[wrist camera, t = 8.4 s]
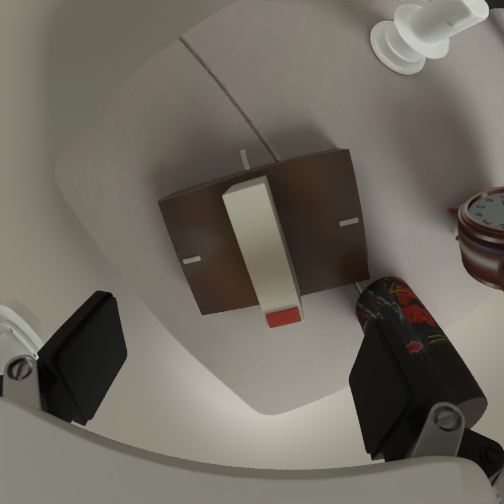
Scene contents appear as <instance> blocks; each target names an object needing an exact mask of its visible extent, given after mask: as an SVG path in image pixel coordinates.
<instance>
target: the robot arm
mask: <svg viewBox="0 0 504 504" xmlns="http://www.w3.org/2000/svg"><path fill="white" fill-rule="evenodd" d="M126 358H127V348H126V345H125V340H124V335H123V331H122V327H121V321H120V317H119V312H118V306H117V301H116V298H115V297H113V295H112V294H111V293H110V292H104V291H96V292H95V293H94V294H93V295H92V296H91V297H90V298H89V299H88V300H87V301H86V302H85V303H84V304H83V305H82V306H81V307H80V308H79V309H78V310H77V311H76V312H75V313H74V314H73V315H72V316H71V317H70V318H69V319H68V320H67V321H66V322H65V323H64V324H63V325H62V326H61V327H60V328H59V329H58V330H57V331H56V332H55V333H54V335H53V336H52V337H51V338H50V339H49V340H48V341H47V342H46V343H45V344H44V345H43V347H42V348H41V349H40V350H38V348H37V347H36V346H35V344H34V343H33V342H32V341H31V339H30V338H29V337H28V336H27V335H26V334H25V333H24V332H23V331H22V330H21V329H20V328H19V327H17V326H16V325H15V324H13V323H12V322H10V321H7V320H3V321H1V322H0V504H504V450H503V448H502V447H501V446H500V444H499V443H497V442H495V441H494V440H491V439H489V438H487V437H485V436H483V435H480V434H478V433H476V432H474V431H472V430H470V429H468V428H466V427H465V417H464V414H463V412H462V411H461V410H460V409H459V408H458V407H457V406H456V405H454V404H452V403H449V402H440V403H436V404H434V402H433V400H432V399H433V396H432V394H431V392H430V390H429V388H428V386H427V384H426V382H425V380H424V379H423V377H422V375H421V373H420V371H419V369H418V367H417V365H416V363H415V362H414V360H413V358H412V356H411V354H410V353H409V351H408V349H407V347H406V345H405V344H404V342H403V340H402V338H401V337H400V335H399V333H398V331H397V330H396V328H395V326H394V325H393V323H392V321H391V320H390V319H375V320H374V321H373V323H369V325H368V327H367V330H366V333H365V336H364V339H363V342H362V344H361V347H360V350H359V352H358V355H357V358H356V360H355V363H354V365H353V368H352V370H351V373H350V376H349V385H350V388H351V392H352V395H353V400H354V404H355V407H356V411H357V415H358V419H359V424H360V428H361V432H362V436H363V440H364V445H365V449H366V452H367V453H370V454H371V459H372V460H379V459H385V462H384V463H378V464H371V465H363V466H355V467H343V468H331V469H315V470H313V469H312V470H274V469H255V468H254V469H253V468H242V467H232V466H223V465H216V464H209V463H202V462H197V461H191V460H186V459H181V458H176V457H172V456H167V455H163V454H159V453H155V452H151V451H147V450H143V449H140V448H137V447H133V446H130V445H127V444H124V443H120V442H117V441H114V440H112V439H109V438H106V437H103V436H100V435H98V434H95V433H93V432H90V431H87V430H85V429H82V428H80V427H77V426H75V425H73V424H70V423H71V421H72V420H73V421H74V422H76V423H79V424H81V425H83V426H85V425H86V423H87V421H88V420H91V419H92V418H93V417H94V415H95V413H96V411H97V409H98V407H99V406H100V404H101V402H102V400H103V398H104V397H105V395H106V393H107V391H108V390H109V388H110V386H111V384H112V383H113V381H114V379H115V377H116V376H117V374H118V372H119V370H120V369H121V367H122V365H123V364H124V362H125V360H126Z"/></svg>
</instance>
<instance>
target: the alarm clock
mask: <svg viewBox="0 0 504 504" xmlns="http://www.w3.org/2000/svg"><path fill="white" fill-rule="evenodd" d="M448 211H449V212H452V211H453V212H456V213H458V236H456V240H457V241H458V240H459V245H460V250H461V255H462V262H463V265H464V267H465V269H466V270H467V272H468V273H469V274H470V275H471V276H472V277H473V278H474V279H476V280H477V281H479V282H480V283H482V284H484V285H486V286H489V287H492V288H495V289H499V290H503V291H504V186H503V187H496V188H491V189H487V190H484V191H481V192H479V193H477V194H475V195H473V196H472V197H470V198H469V199H467V200H466V201H465V202H463V203H462V205H461V206H460V207H456V208H452V207H449V208H448Z"/></svg>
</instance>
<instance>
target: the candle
mask: <svg viewBox="0 0 504 504" xmlns="http://www.w3.org/2000/svg"><path fill="white" fill-rule="evenodd" d="M488 15H489V7H488V4H487V3H486V2H485V0H430V2H429V3H428V4H426V5H425V6H424V7H420V6H418V5H414V4H404V5H401V6H399V7H398V8H397V9H396V11H395V13H394V21H382V22H379V23H378V24H376V25H375V26H374V27H373V29H372V31H371V34H370V41H371V45H372V48H373V50H374V52H375V54H376V55H377V57H378V58H379V59H380V61H381V62H382V63H383V64H385V65H386V66H387V67H388V68H390V69H392V70H393V71H395V72H398V73H401V74H407V75H410V74H415V73H417V72H419V71H420V70H421V69H422V68H423V67H424V65H425V61H426V57H427V58H431V59H439V58H442V57H444V56H445V55H446V54H447V52H448V50H449V38H448V37H450V36H452V35H454V34H456V33H458V32H460V31H463V30H465V29H467V28H469V27H471V26H473V25H475V24H477V23H479V22H481V21H483V20H485V19H486V18H487V17H488Z"/></svg>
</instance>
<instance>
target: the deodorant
mask: <svg viewBox="0 0 504 504" xmlns="http://www.w3.org/2000/svg"><path fill="white" fill-rule="evenodd" d="M356 315H357V317H358V320H359V322H360V325H361V327H362V330H363V332H364V335H365V333H366V330H367V327H368V325H369V323H373V321H374V320H375V319H390V320H391V321H392V323H393V325H394V326H395V328H396V330H397V331H398V333H399V335H400V337H401V338H402V340H403V342H404V344H405V345H406V347H407V349H408V351H409V353H410V354H411V356H412V358H413V360H414V362H415V363H416V365H417V367H418V369H419V371H420V373H421V375H422V377H423V379H424V380H425V382H426V384H427V386H428V388H429V390H430V392H431V394H432V396H433V399H432V400H433V402H434V404H436V403H440V402H449V403H452V404H454V405H456V406H457V407H458V408H459V409H460V410H461V411H462V412H463V414H464V417H465V427H466V428H468V429H470V428H472V427H473V426H474V425H475V424H476V423H477V421H478V420H479V419H480V418H481V417H482V415H483V414H484V412H485V410H486V408H487V404H488V402H487V399H486V397H485V395H484V394H483V392H482V390H481V388H480V387H479V385H478V383H477V382H476V380H475V379H474V377H473V375H472V374H471V372H470V371H469V369H468V368H467V366H466V364H465V363H464V361H463V360H462V358H461V357H460V355H459V354H458V352H457V351H456V349H455V348H454V346H453V345H452V343H451V342H450V341H449V339H448V338H447V336H446V335H445V333H444V332H443V331H442V329H441V328H440V326H439V325H438V324H437V322H436V321H435V320H434V318H433V317H432V316H431V314H430V313H429V312H428V310H427V309H426V308H425V306H424V305H423V304H422V302H421V301H420V300H419V299H418V297H417V296H416V295H415V294H414V292H413V291H412V290H411V289H410V287H409V286H408V285H407V284H406V283H405V282H404V281H403V280H401V279H399V278H396V277H387V278H382V279H379V280H377V281H375V282H373V283H372V284H371V285H369V286H368V287H367V288H366V289H365V290H364V291H363V293H362V294H361V296H360V298H359V299H358V302H357V306H356Z"/></svg>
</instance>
